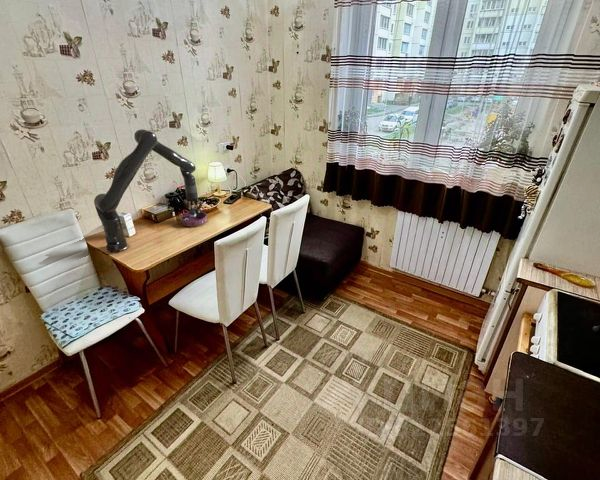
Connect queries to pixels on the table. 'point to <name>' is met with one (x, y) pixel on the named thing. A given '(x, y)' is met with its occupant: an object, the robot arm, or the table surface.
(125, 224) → the syrup box
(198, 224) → the bowl
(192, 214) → the eraser
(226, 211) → the table surface
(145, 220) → the table surface
